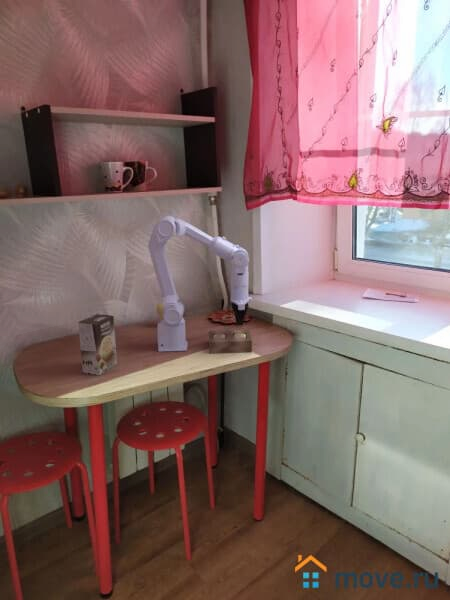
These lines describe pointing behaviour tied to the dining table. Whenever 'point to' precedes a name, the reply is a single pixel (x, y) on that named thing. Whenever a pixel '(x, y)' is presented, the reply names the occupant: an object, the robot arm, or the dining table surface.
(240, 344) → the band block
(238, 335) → the right peg
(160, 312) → the light bulb
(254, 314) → the dining table surface
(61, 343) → the dining table surface
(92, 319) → the coffee box
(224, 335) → the left peg
